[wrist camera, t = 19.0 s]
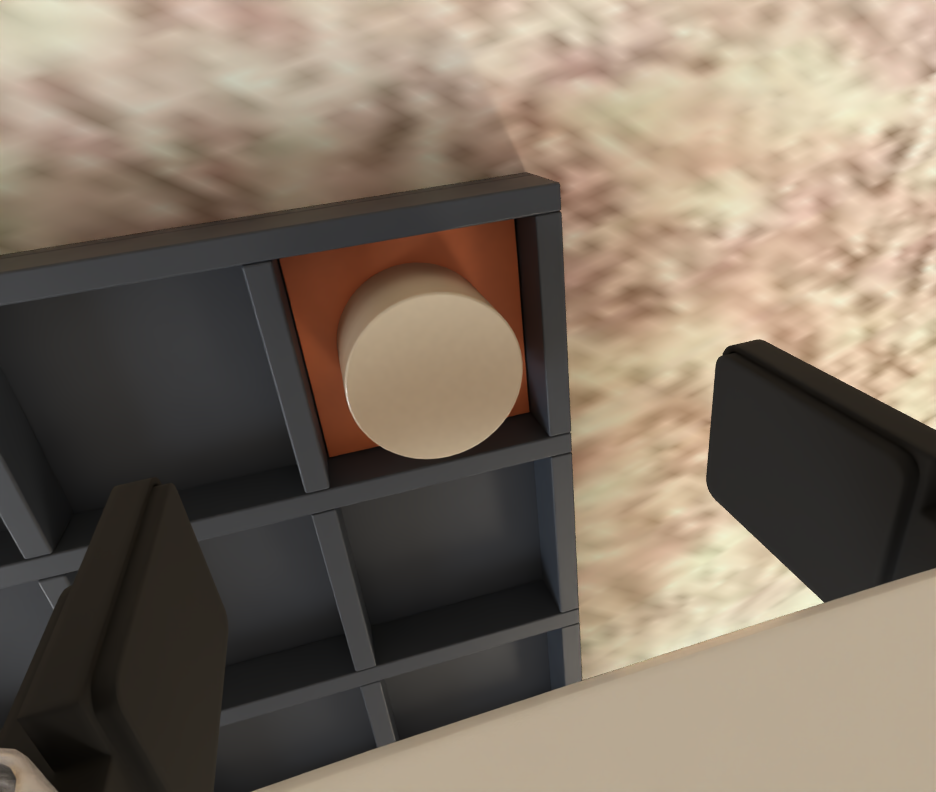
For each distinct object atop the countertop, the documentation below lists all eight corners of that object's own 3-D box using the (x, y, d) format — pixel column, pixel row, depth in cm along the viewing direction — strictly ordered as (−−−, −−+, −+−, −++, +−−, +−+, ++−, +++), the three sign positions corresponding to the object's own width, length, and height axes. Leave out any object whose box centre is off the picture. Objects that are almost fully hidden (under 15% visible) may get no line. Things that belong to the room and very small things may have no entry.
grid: (-431, 322, 14) (-564, 363, 11) (528, 171, 17) (561, 181, 15) (15, 870, 24) (-12, 946, 21) (563, 699, 27) (585, 749, 25)
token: (320, 277, 16) (325, 312, 14) (482, 249, 17) (516, 276, 14) (353, 423, 18) (363, 477, 16) (496, 392, 19) (529, 438, 16)
